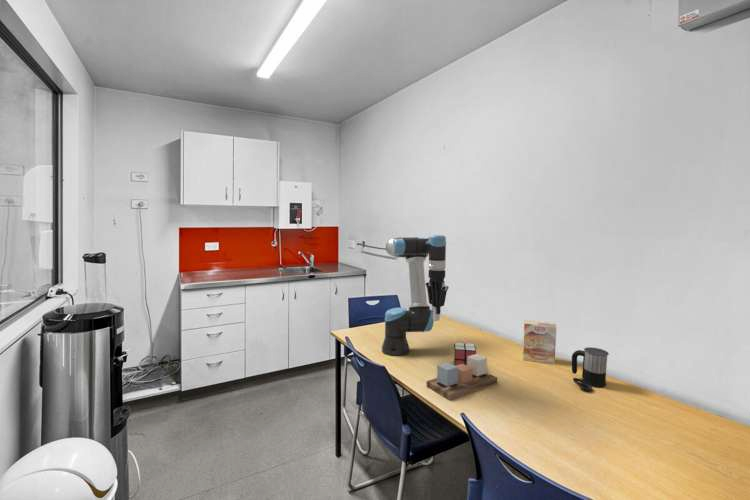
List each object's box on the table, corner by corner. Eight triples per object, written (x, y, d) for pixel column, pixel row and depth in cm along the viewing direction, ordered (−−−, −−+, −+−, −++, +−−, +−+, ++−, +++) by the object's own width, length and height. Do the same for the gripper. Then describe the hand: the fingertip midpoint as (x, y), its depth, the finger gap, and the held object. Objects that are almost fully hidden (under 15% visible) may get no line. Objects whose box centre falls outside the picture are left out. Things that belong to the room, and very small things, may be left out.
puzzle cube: (475, 371, 174) (476, 350, 173) (454, 369, 176) (454, 349, 175) (474, 362, 183) (474, 343, 183) (454, 361, 185) (454, 342, 185)
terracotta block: (452, 381, 160) (452, 366, 159) (462, 378, 163) (462, 363, 163) (462, 387, 155) (462, 371, 154) (472, 383, 158) (472, 368, 158)
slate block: (437, 381, 155) (437, 365, 154) (447, 377, 158) (447, 362, 158) (447, 386, 150) (447, 370, 149) (457, 383, 153) (457, 367, 153)
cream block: (467, 371, 165) (467, 356, 164) (476, 368, 168) (476, 353, 167) (477, 376, 160) (477, 360, 159) (486, 373, 163) (486, 358, 162)
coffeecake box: (522, 360, 187) (524, 323, 185) (522, 355, 193) (524, 319, 192) (555, 364, 181) (556, 326, 179) (553, 359, 188) (555, 322, 186)
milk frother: (603, 380, 164) (605, 348, 162) (613, 396, 149) (615, 361, 147) (568, 375, 168) (569, 344, 167) (574, 391, 154) (576, 357, 152)
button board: (426, 386, 157) (426, 381, 157) (473, 371, 173) (473, 366, 173) (449, 400, 146) (449, 394, 145) (497, 382, 161) (497, 377, 161)
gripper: (421, 268, 167) (420, 318, 169) (440, 271, 156) (439, 325, 158) (433, 267, 171) (432, 315, 173) (453, 270, 160) (452, 322, 162)
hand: (436, 320), depth 166 cm, fingers closed
